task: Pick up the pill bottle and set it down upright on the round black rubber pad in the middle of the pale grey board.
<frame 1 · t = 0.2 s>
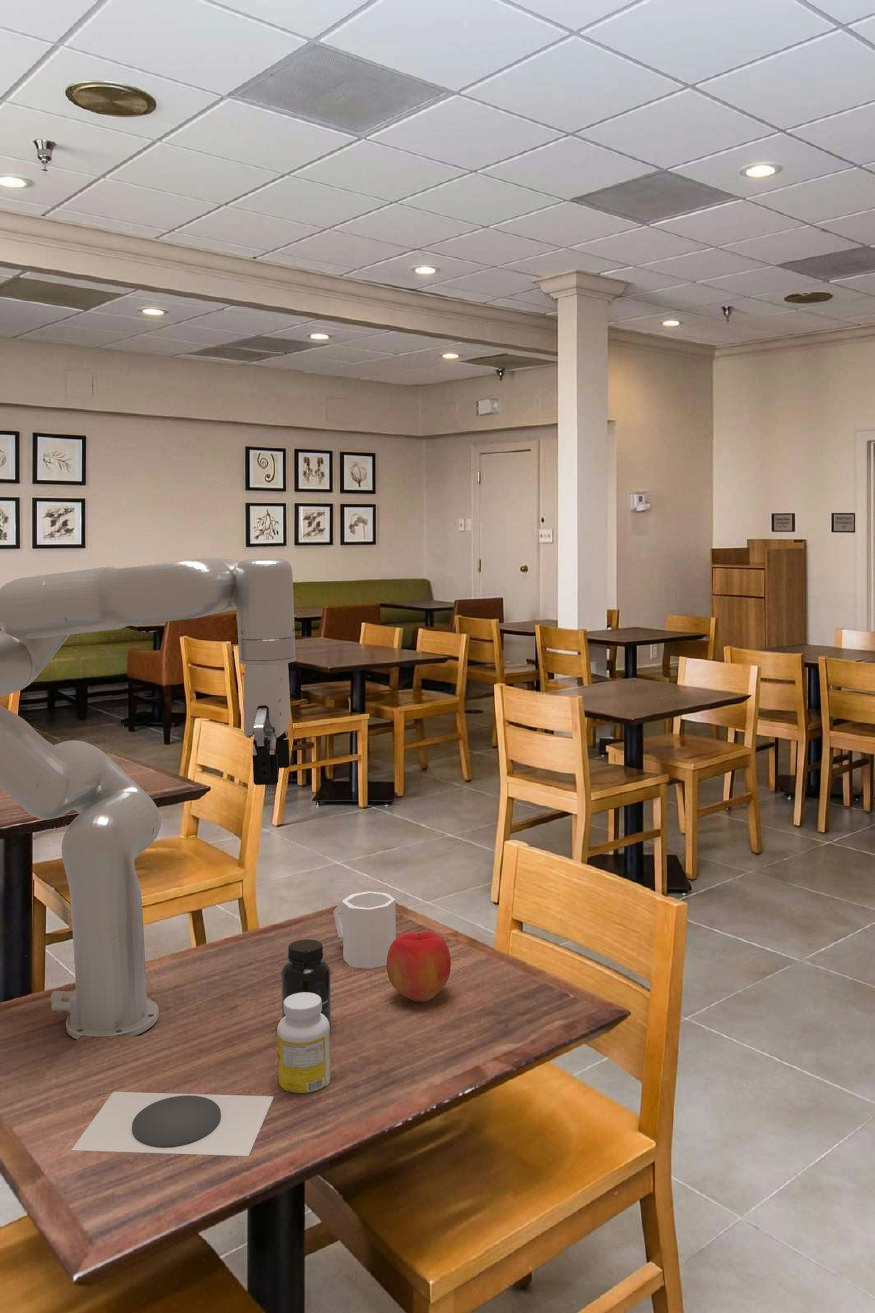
hand: (272, 775, 139), 36 cm above the table, tool pointing down, fingers open, 9 cm apart
apple: (419, 998, 153), on the table
pad: (176, 1121, 119), resting on board
board: (177, 1131, 119), on the table
mug: (361, 956, 168), on the table
supplement bottle: (307, 1028, 144), on the table
pill bottle: (305, 1090, 128), on the table
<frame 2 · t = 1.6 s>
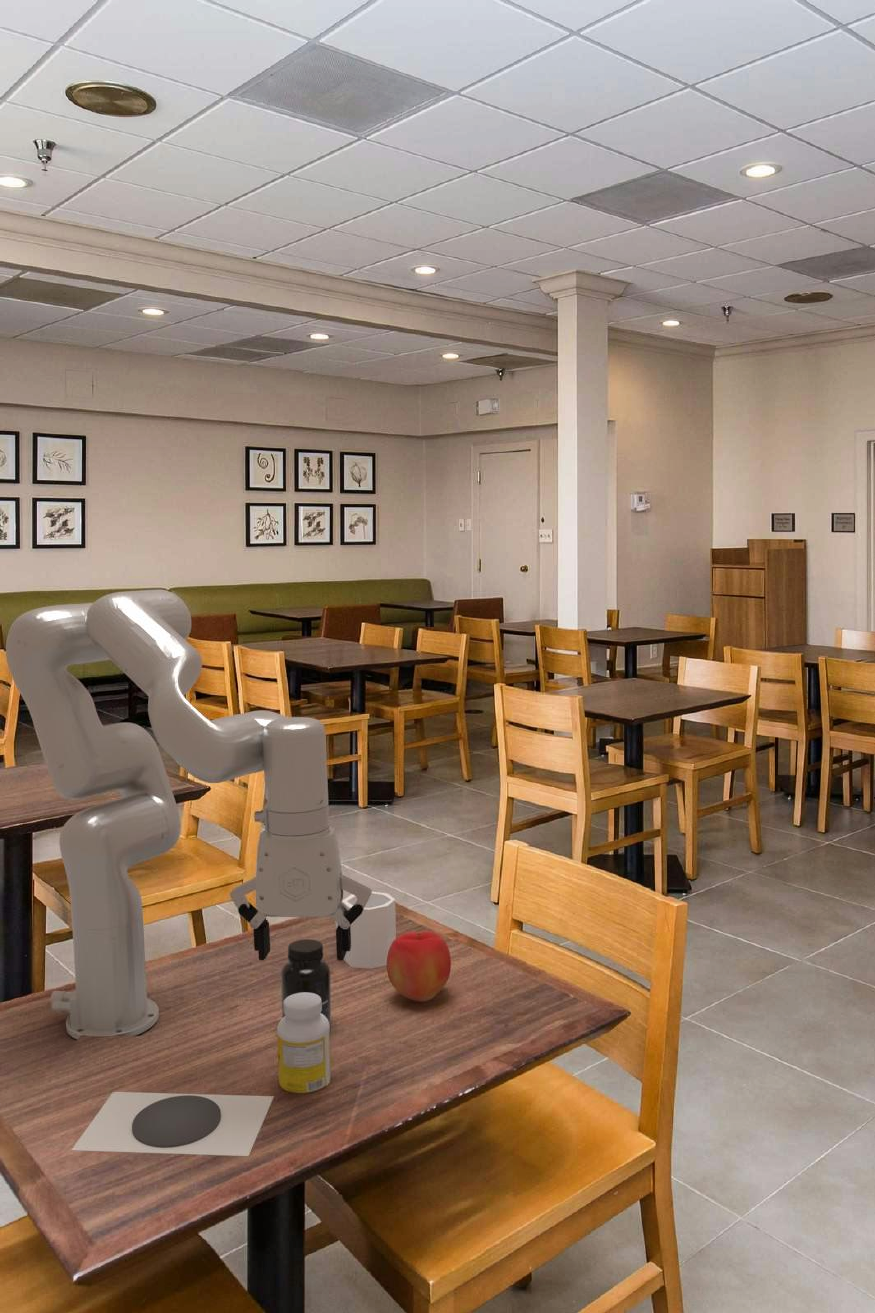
hand: (303, 956, 126), 17 cm above the table, tool pointing down, fingers open, 9 cm apart
nothing on the table moved.
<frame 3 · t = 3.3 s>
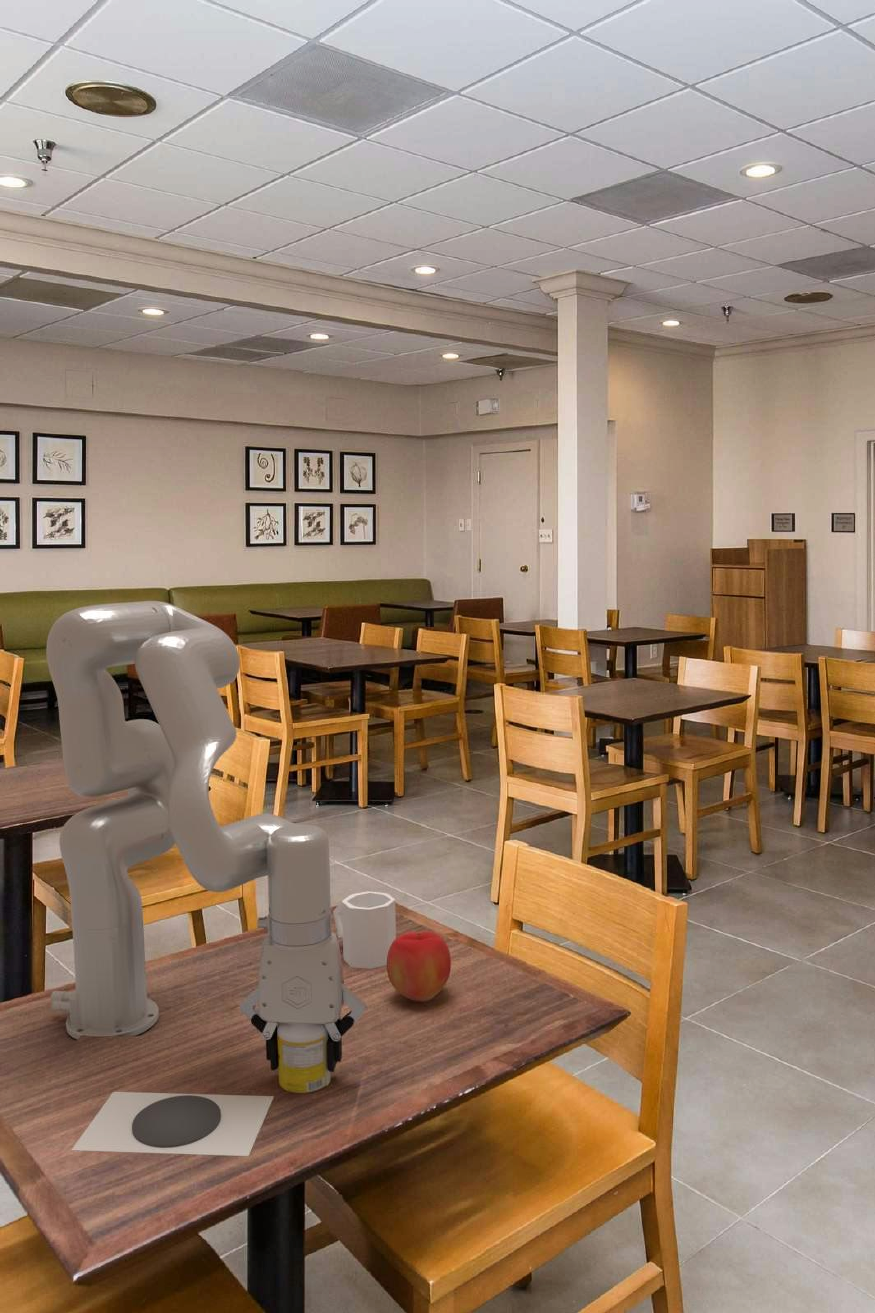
hand: (304, 1064, 127), 3 cm above the table, tool pointing down, fingers closed on pill bottle, 6 cm apart
pill bottle: (305, 1090, 128), on the table, touching gripper
everything else where it was.
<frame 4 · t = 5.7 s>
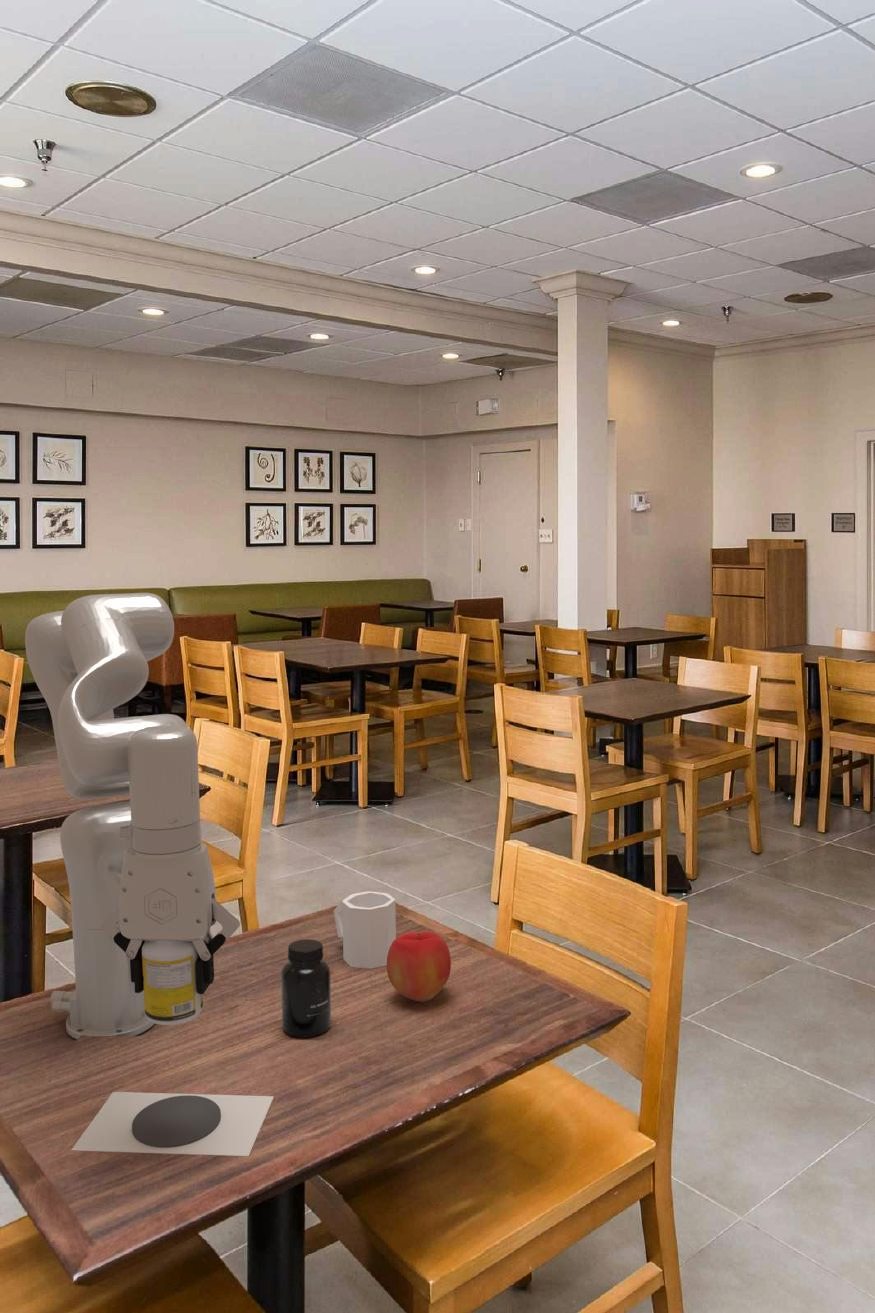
hand: (173, 987, 117), 17 cm above the table, tool pointing down, fingers closed on pill bottle, 6 cm apart
pill bottle: (174, 1015, 117), point 14 cm above the table, touching gripper
everything else where it was.
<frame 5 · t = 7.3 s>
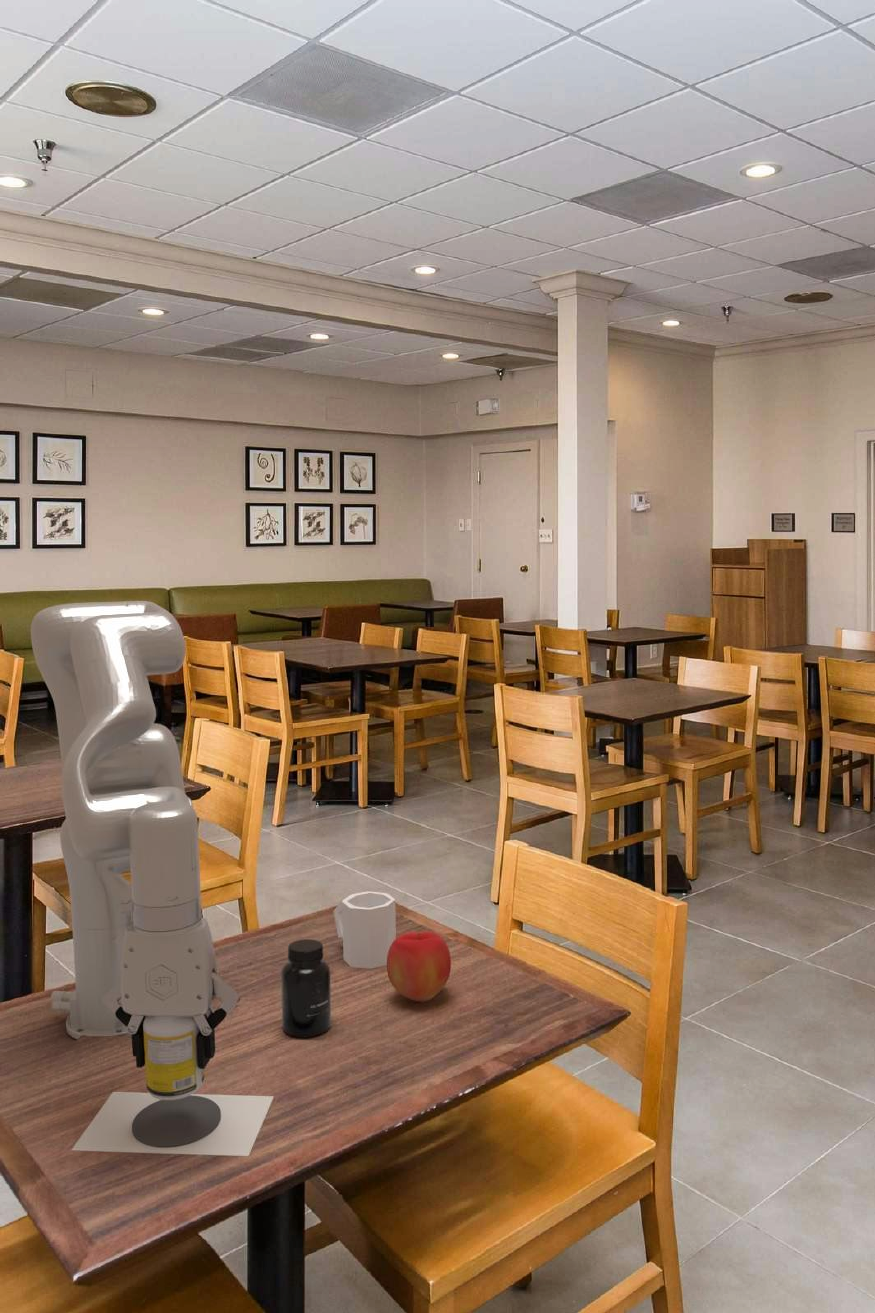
hand: (174, 1061, 118), 9 cm above the table, tool pointing down, fingers closed on pill bottle, 6 cm apart
pill bottle: (175, 1089, 118), point 5 cm above the table, touching gripper
everything else where it was.
when the fingers open (6 cm above the table, at t = 8.4 s): pill bottle drops 1 cm, resting on pad.
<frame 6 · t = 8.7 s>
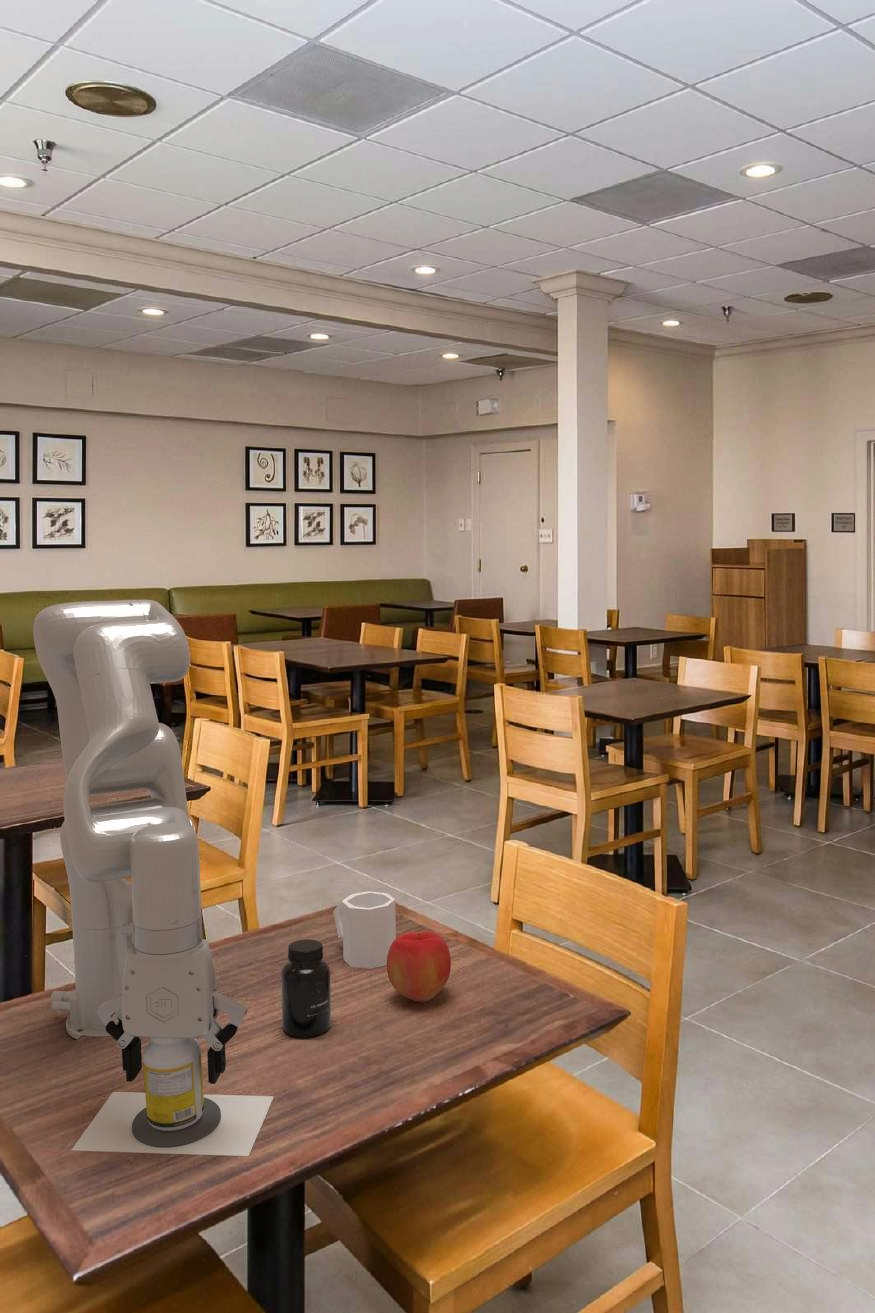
hand: (174, 1076, 118), 7 cm above the table, tool pointing down, fingers open, 9 cm apart
pill bottle: (176, 1119, 119), point 1 cm above the table, touching pad
everything else where it was.
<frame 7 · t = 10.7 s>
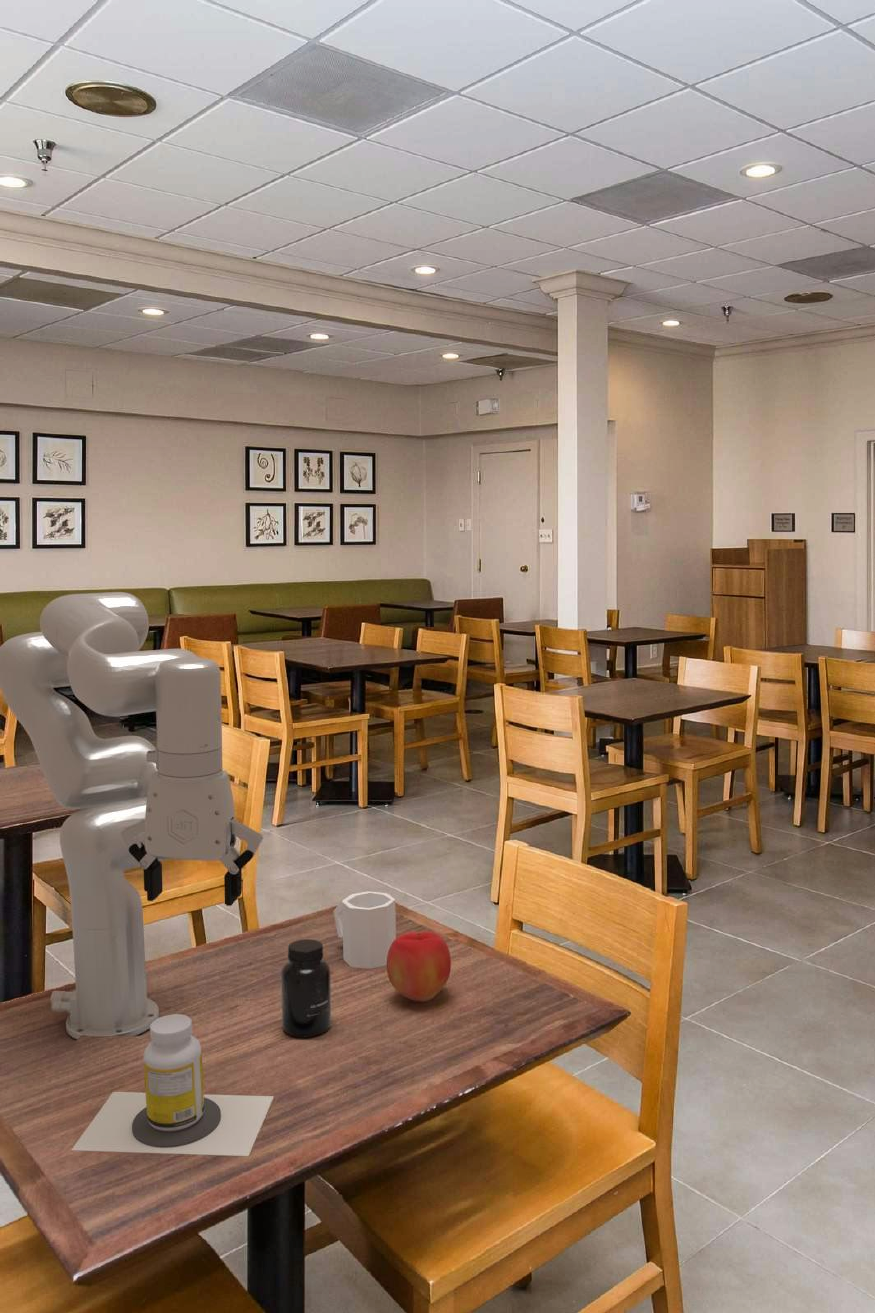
hand: (193, 899, 124), 25 cm above the table, tool pointing down, fingers open, 9 cm apart
nothing on the table moved.
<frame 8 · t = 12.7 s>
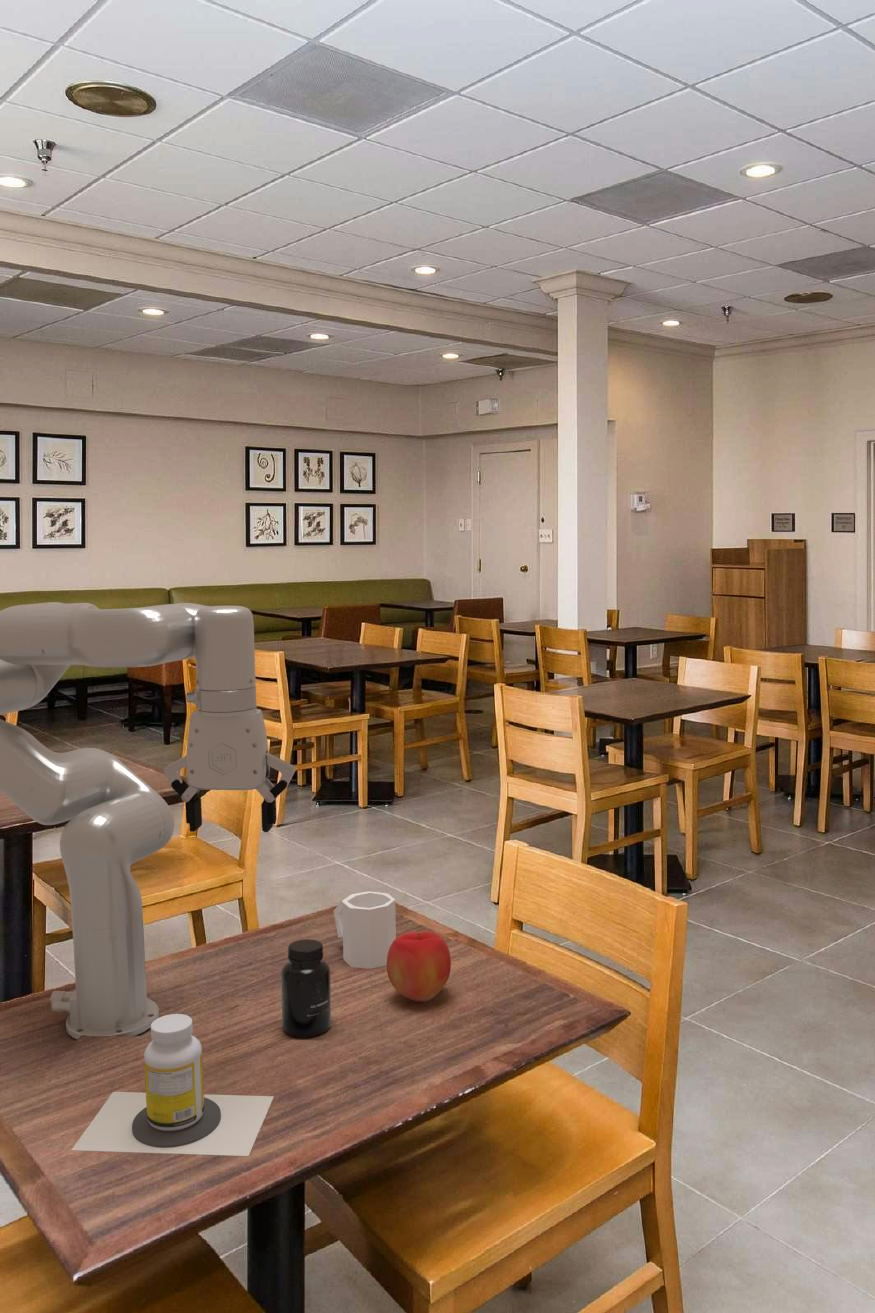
hand: (231, 829, 135), 30 cm above the table, tool pointing down, fingers open, 9 cm apart
nothing on the table moved.
at the end: pill bottle 0.2 cm from the pad (horizontally); pill bottle tilted 0°; the gripper is holding nothing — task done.
